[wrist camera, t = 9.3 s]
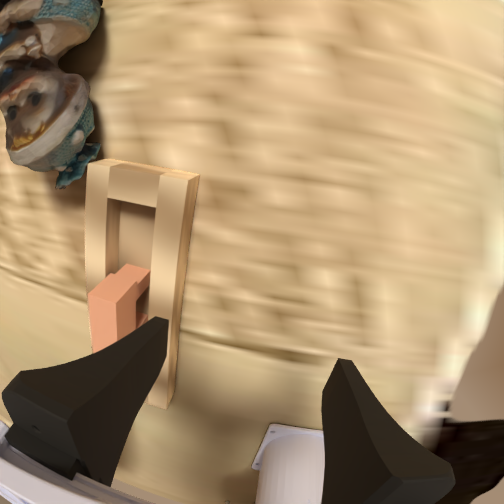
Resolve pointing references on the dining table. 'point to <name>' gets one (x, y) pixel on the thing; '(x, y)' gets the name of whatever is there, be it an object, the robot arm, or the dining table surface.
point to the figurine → (46, 85)
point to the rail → (142, 242)
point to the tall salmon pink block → (117, 305)
